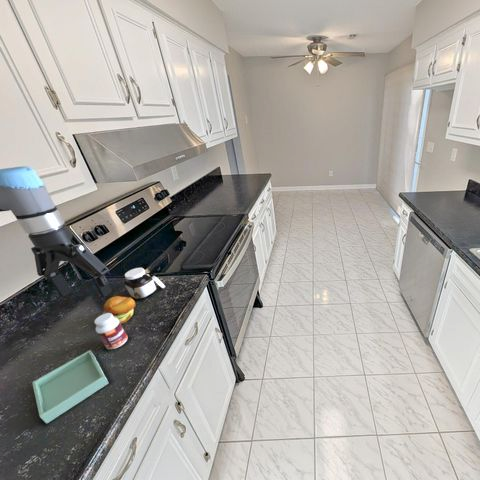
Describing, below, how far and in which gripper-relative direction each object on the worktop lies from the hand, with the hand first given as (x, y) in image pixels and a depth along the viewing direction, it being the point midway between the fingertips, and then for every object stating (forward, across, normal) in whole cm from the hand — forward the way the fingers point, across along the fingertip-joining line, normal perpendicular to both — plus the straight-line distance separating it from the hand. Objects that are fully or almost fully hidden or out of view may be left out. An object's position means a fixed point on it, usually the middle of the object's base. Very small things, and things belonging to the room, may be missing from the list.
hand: (86, 294), depth 75 cm
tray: (+22, +1, +14) cm, 26 cm away
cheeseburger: (+22, +9, -12) cm, 27 cm away
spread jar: (+22, +9, -28) cm, 36 cm away
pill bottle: (+22, +1, -1) cm, 22 cm away
